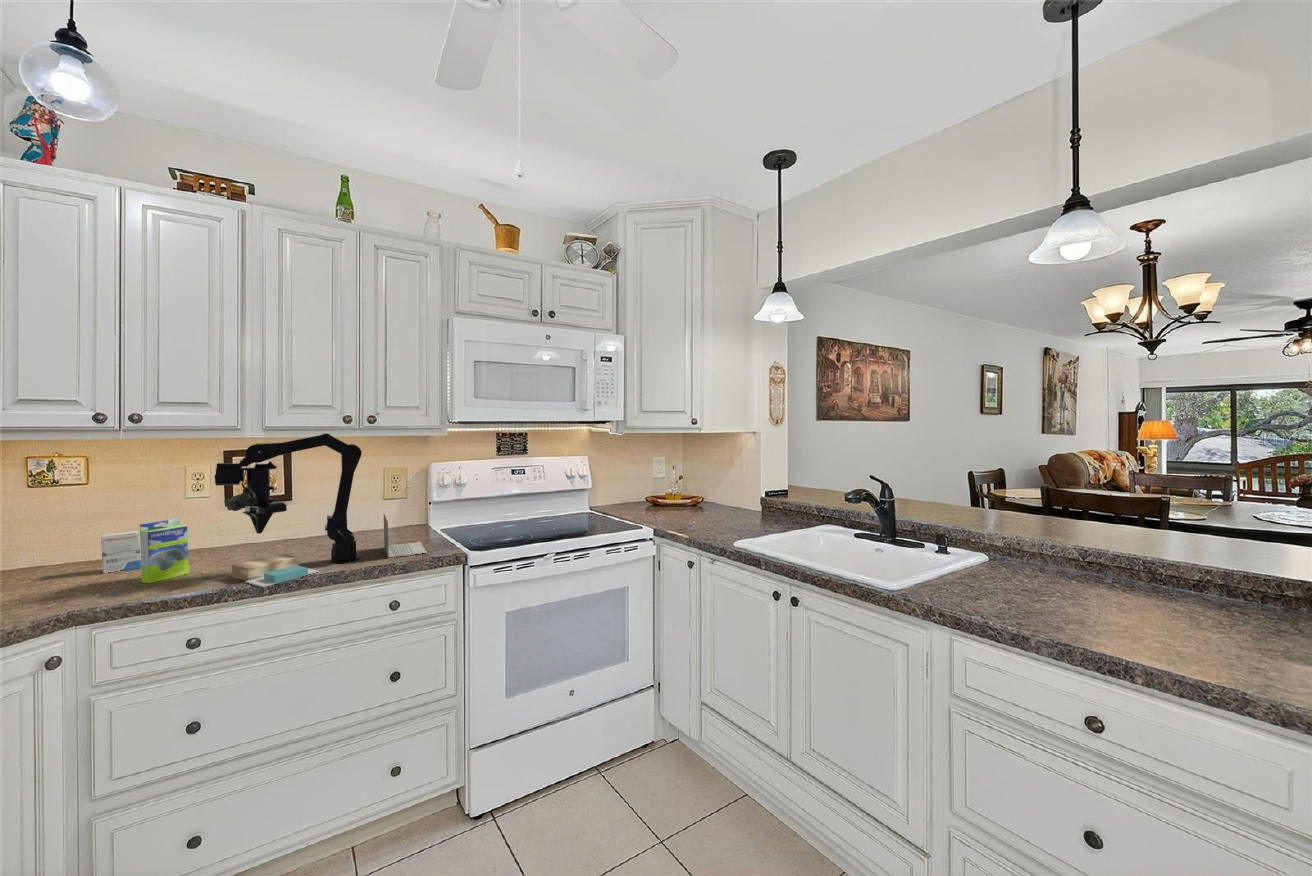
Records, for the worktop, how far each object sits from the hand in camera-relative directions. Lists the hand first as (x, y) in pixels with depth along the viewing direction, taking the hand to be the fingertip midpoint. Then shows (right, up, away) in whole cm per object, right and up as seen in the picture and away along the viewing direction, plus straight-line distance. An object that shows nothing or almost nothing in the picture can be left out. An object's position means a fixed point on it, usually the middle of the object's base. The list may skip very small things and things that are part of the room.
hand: (259, 533), depth 164 cm
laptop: (+33, -12, +26) cm, 44 cm away
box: (-24, -13, -6) cm, 28 cm away
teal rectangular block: (+13, -10, -7) cm, 18 cm away
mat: (+12, -12, -6) cm, 18 cm away
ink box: (-46, -12, +3) cm, 48 cm away
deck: (+4, -12, -2) cm, 13 cm away
